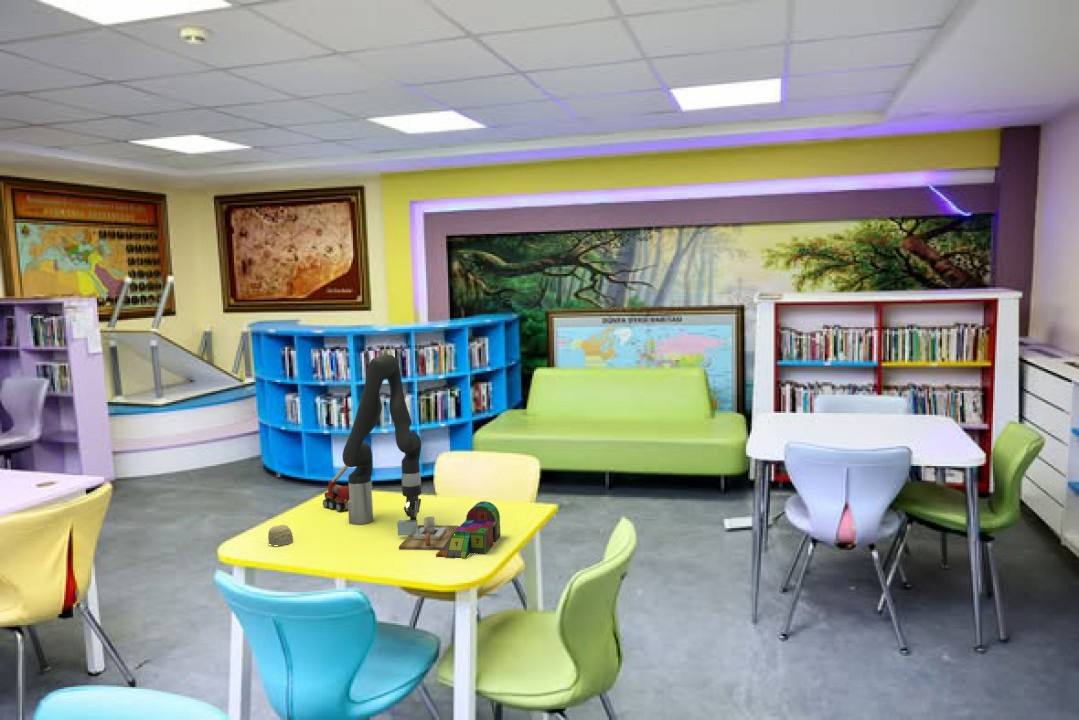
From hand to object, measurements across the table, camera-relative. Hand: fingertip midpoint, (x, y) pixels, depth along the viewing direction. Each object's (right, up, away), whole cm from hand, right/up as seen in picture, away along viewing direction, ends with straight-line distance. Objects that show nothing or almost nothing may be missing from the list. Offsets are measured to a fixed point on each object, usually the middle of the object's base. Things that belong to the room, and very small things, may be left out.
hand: (413, 525), depth 313 cm
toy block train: (+24, -4, -20) cm, 32 cm away
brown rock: (-50, -5, -9) cm, 51 cm away
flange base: (+8, -3, -10) cm, 13 cm away
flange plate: (+4, -2, -9) cm, 11 cm away
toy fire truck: (-38, 0, +37) cm, 53 cm away
